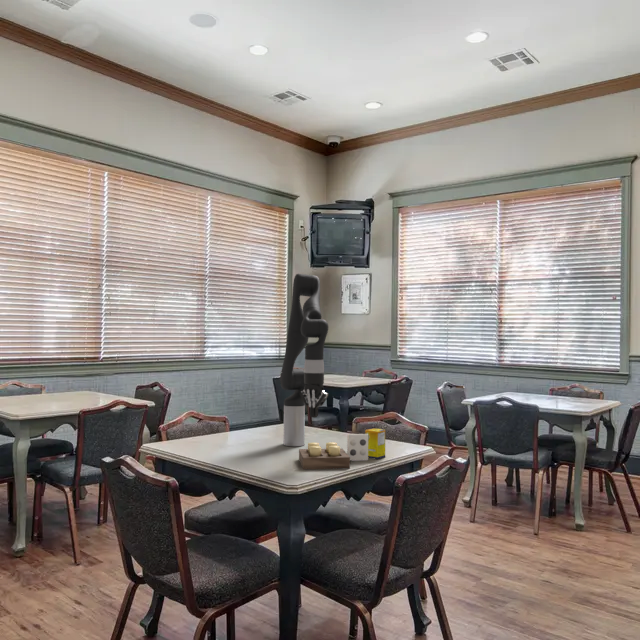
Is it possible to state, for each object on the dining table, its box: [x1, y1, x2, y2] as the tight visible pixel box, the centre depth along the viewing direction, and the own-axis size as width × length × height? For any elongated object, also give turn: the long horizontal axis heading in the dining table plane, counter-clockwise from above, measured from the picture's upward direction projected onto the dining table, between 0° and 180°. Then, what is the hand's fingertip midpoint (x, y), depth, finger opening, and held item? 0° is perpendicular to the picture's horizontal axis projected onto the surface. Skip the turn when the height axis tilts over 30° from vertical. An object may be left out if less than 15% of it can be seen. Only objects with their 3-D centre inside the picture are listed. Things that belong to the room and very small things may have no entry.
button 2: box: [310, 445, 322, 457], centre depth 223 cm, size 4×4×3 cm
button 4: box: [329, 445, 341, 456], centre depth 223 cm, size 4×4×3 cm
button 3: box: [325, 441, 338, 453], centre depth 230 cm, size 4×4×3 cm
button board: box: [298, 448, 351, 470], centre depth 226 cm, size 17×17×4 cm
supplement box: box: [364, 427, 386, 460], centre depth 240 cm, size 6×6×11 cm
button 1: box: [307, 442, 320, 453], centre depth 230 cm, size 4×4×3 cm
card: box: [346, 433, 369, 461], centre depth 234 cm, size 1×8×10 cm, turn 97°
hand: (313, 417), depth 230 cm, fingers closed
